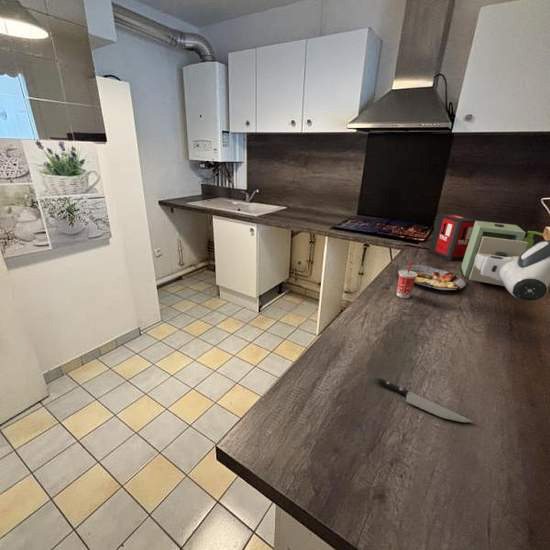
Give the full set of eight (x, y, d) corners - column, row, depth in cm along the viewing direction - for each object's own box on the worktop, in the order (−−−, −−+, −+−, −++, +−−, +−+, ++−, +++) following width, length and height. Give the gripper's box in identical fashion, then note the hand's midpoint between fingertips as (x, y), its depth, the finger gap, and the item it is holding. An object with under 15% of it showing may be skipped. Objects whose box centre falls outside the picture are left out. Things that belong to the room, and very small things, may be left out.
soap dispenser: (524, 279, 126) (542, 234, 118) (505, 274, 130) (521, 230, 123) (527, 276, 129) (546, 232, 121) (509, 271, 134) (525, 228, 126)
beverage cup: (413, 294, 108) (422, 259, 103) (410, 300, 104) (419, 264, 98) (396, 290, 112) (404, 255, 106) (392, 296, 107) (400, 260, 101)
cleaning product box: (465, 260, 146) (478, 220, 139) (450, 260, 145) (462, 221, 137) (442, 249, 161) (452, 213, 153) (428, 250, 160) (438, 213, 152)
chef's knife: (472, 434, 55) (473, 422, 57) (474, 430, 54) (475, 418, 57) (372, 387, 65) (376, 379, 67) (373, 384, 64) (377, 375, 66)
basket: (512, 291, 110) (531, 245, 102) (470, 283, 115) (485, 239, 108) (503, 275, 124) (518, 234, 117) (465, 269, 129) (478, 229, 122)
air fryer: (505, 284, 120) (526, 231, 111) (464, 276, 126) (480, 225, 117) (499, 272, 132) (517, 223, 123) (461, 266, 138) (475, 219, 129)
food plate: (467, 280, 123) (470, 272, 121) (460, 300, 105) (463, 292, 104) (405, 265, 136) (407, 258, 135) (390, 281, 119) (392, 273, 117)
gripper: (562, 268, 86) (546, 254, 98) (481, 256, 94) (475, 245, 106) (553, 287, 89) (539, 272, 100) (475, 273, 97) (470, 261, 108)
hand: (506, 258), depth 103 cm, fingers open, 8 cm apart
